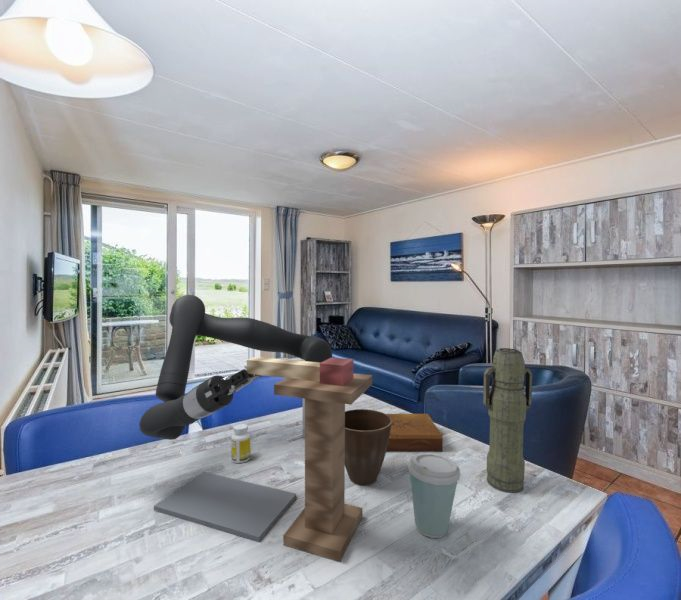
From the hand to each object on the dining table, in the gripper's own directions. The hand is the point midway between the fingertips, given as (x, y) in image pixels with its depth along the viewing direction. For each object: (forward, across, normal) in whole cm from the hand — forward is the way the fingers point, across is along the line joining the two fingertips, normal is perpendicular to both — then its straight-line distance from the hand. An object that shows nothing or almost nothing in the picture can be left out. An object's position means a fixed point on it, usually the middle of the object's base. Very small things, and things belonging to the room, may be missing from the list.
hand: (258, 368), depth 80 cm
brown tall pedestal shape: (-2, 0, +36) cm, 37 cm away
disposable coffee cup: (+16, +9, +47) cm, 51 cm away
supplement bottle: (-33, +19, +19) cm, 43 cm away
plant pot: (-2, +22, +37) cm, 44 cm away
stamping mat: (-24, 0, +24) cm, 34 cm away
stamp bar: (+8, 0, +6) cm, 10 cm away
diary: (+2, +50, +40) cm, 64 cm away
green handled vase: (+29, +33, +55) cm, 71 cm away
